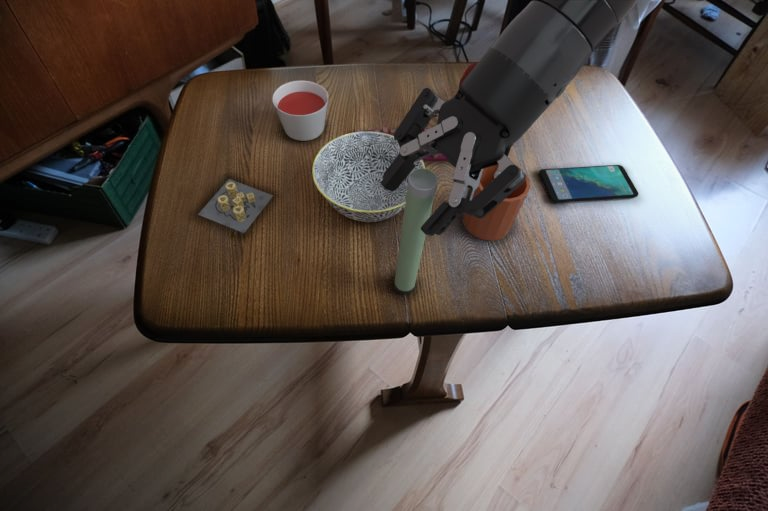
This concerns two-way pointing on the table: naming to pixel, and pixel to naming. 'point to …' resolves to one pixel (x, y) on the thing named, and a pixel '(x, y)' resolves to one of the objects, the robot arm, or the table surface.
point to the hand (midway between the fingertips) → (406, 209)
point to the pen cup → (496, 210)
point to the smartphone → (587, 183)
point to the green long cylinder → (414, 227)
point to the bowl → (360, 175)
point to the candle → (301, 109)
